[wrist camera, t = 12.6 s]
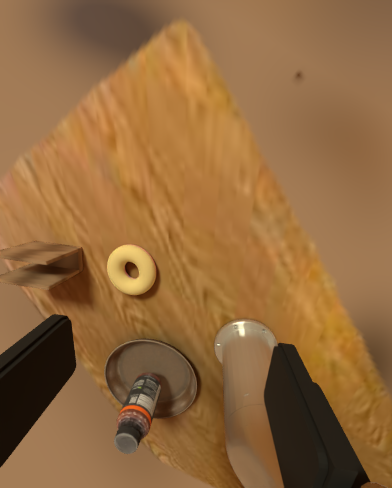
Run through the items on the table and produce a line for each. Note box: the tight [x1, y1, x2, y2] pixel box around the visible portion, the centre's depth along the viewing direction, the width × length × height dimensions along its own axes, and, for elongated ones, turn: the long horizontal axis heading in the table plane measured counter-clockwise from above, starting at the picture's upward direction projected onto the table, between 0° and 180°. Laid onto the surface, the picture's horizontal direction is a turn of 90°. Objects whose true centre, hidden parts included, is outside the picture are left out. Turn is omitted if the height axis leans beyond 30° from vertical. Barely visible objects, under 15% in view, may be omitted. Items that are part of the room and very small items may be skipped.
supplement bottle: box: [114, 372, 162, 454], centre depth 37 cm, size 6×6×11 cm
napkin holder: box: [0, 241, 83, 290], centre depth 36 cm, size 10×5×9 cm, turn 84°
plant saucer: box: [104, 339, 197, 419], centre depth 44 cm, size 21×21×3 cm
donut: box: [107, 245, 156, 295], centre depth 38 cm, size 10×5×9 cm
